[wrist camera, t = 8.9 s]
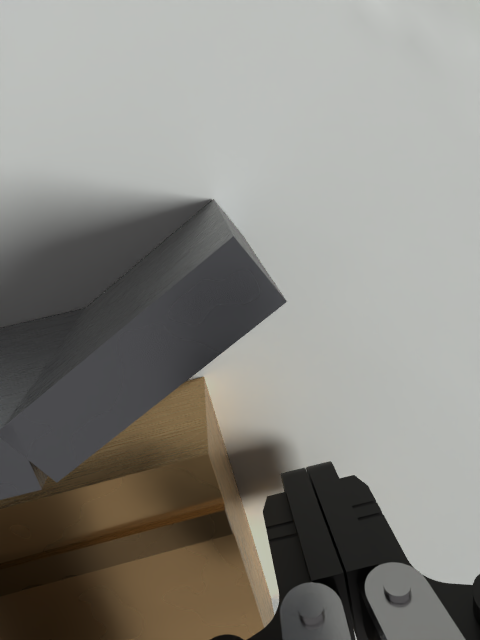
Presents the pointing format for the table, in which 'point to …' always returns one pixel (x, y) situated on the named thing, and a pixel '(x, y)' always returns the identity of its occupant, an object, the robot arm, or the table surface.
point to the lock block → (136, 539)
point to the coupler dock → (125, 349)
